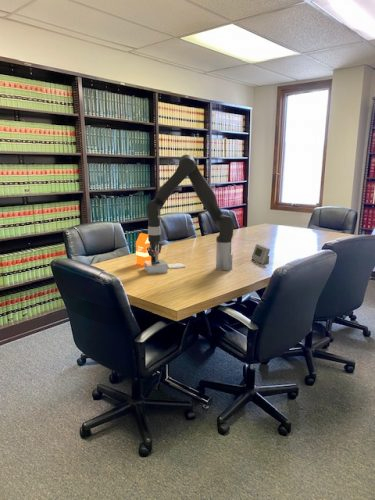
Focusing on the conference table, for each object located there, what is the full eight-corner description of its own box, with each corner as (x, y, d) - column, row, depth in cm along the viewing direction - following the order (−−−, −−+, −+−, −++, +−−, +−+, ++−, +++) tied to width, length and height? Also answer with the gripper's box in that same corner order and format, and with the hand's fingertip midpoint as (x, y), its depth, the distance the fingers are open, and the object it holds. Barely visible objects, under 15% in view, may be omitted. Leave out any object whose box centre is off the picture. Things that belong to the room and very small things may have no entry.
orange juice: (145, 266, 236) (144, 235, 231) (136, 263, 241) (135, 233, 237) (154, 263, 241) (153, 233, 237) (145, 261, 247) (144, 232, 242)
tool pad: (181, 264, 239) (181, 263, 239) (185, 267, 232) (184, 266, 232) (166, 265, 236) (166, 264, 236) (169, 268, 229) (169, 267, 229)
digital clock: (250, 258, 252) (251, 243, 249) (263, 258, 252) (264, 243, 250) (257, 265, 236) (258, 249, 234) (271, 264, 237) (271, 248, 234)
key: (159, 268, 226) (159, 250, 224) (156, 270, 223) (155, 252, 220) (153, 267, 228) (153, 250, 226) (150, 269, 224) (149, 251, 222)
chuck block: (163, 267, 233) (162, 259, 232) (167, 272, 222) (167, 264, 220) (144, 268, 229) (144, 261, 228) (148, 274, 218) (147, 266, 217)
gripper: (153, 236, 213) (153, 264, 216) (165, 232, 225) (166, 259, 229) (142, 234, 216) (143, 263, 220) (155, 231, 228) (155, 258, 232)
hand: (154, 261), depth 224 cm, fingers closed on key, 3 cm apart
